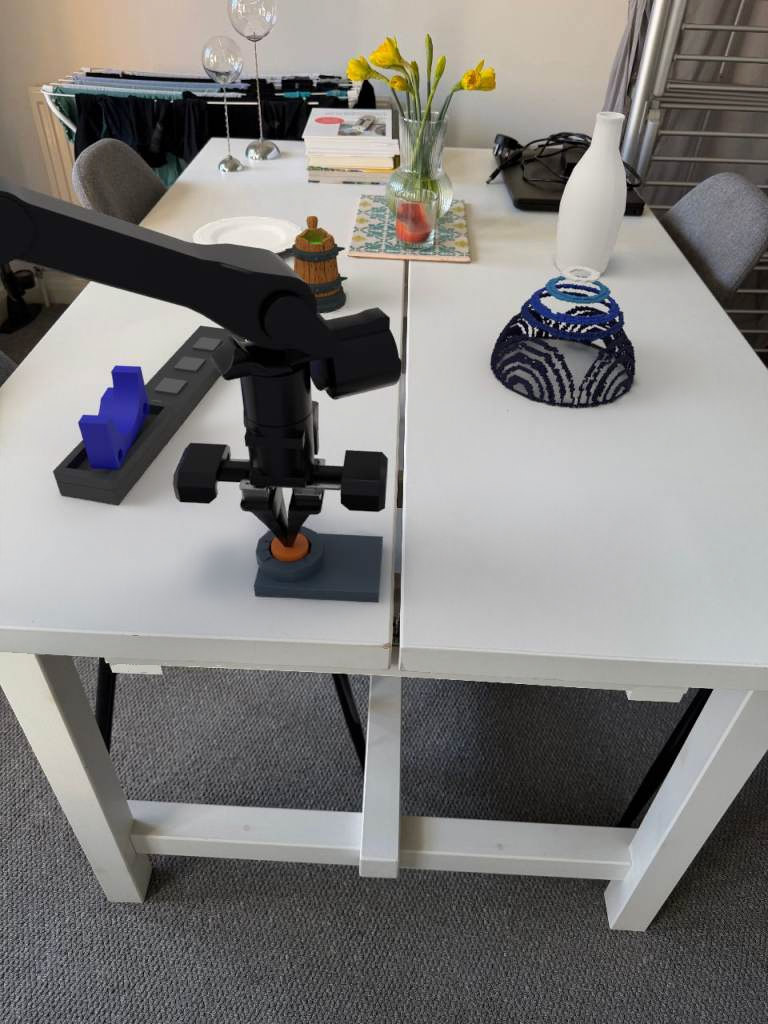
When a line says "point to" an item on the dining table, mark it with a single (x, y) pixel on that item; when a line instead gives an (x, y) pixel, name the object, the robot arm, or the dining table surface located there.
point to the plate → (250, 233)
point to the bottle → (593, 201)
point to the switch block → (323, 568)
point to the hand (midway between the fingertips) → (289, 544)
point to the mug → (319, 265)
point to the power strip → (149, 421)
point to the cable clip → (116, 419)
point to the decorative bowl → (586, 338)
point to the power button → (290, 550)
